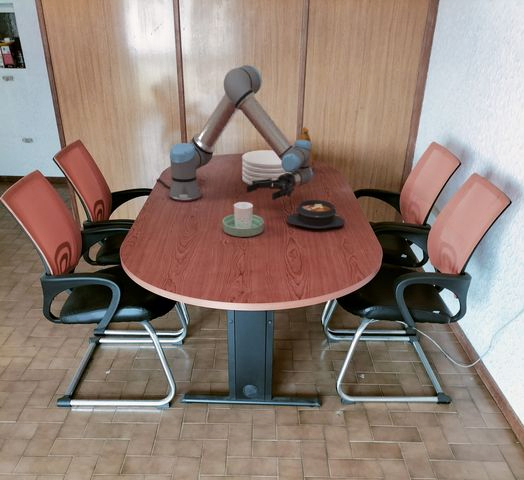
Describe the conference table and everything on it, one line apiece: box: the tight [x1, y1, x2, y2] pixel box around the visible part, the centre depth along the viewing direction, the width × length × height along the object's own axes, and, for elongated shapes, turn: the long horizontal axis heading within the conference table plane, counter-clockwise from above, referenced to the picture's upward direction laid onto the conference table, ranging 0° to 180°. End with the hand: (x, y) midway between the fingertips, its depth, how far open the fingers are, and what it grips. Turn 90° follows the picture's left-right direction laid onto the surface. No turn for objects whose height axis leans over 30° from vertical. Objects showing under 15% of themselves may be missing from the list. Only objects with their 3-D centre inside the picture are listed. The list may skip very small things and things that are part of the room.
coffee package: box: [297, 126, 314, 170], centre depth 285 cm, size 10×12×22 cm
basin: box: [221, 213, 265, 238], centre depth 218 cm, size 17×17×4 cm
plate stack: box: [241, 149, 287, 187], centre depth 274 cm, size 28×28×12 cm
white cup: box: [233, 201, 254, 228], centre depth 216 cm, size 8×8×10 cm
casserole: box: [286, 199, 345, 230], centre depth 223 cm, size 25×19×8 cm
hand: (259, 193), depth 219 cm, fingers open, 13 cm apart
